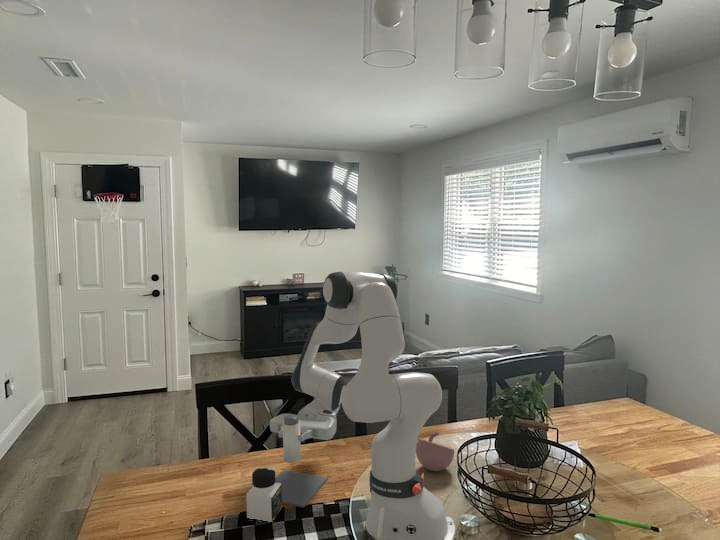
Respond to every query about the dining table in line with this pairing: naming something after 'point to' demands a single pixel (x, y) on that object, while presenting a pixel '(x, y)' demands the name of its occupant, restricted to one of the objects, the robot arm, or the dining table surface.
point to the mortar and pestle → (434, 454)
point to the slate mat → (299, 487)
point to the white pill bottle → (291, 439)
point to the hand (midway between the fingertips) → (290, 436)
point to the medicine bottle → (264, 495)
